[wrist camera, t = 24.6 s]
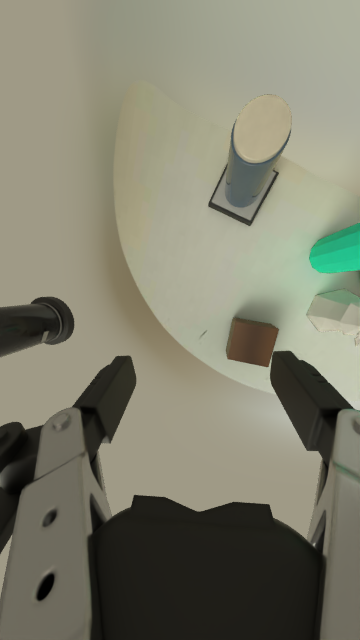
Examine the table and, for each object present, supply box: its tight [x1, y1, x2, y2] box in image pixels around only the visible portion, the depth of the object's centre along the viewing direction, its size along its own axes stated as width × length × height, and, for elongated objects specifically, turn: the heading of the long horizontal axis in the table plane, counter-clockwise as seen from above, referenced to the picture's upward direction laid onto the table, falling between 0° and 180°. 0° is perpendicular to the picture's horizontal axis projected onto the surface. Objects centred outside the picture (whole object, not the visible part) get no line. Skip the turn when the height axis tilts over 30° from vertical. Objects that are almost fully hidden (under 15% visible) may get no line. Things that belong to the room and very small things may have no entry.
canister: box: [225, 94, 292, 208], centre depth 23 cm, size 6×6×11 cm
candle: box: [309, 223, 360, 273], centre depth 23 cm, size 6×6×12 cm
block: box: [226, 317, 279, 367], centre depth 32 cm, size 7×7×4 cm
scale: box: [209, 163, 279, 226], centre depth 28 cm, size 8×8×1 cm
